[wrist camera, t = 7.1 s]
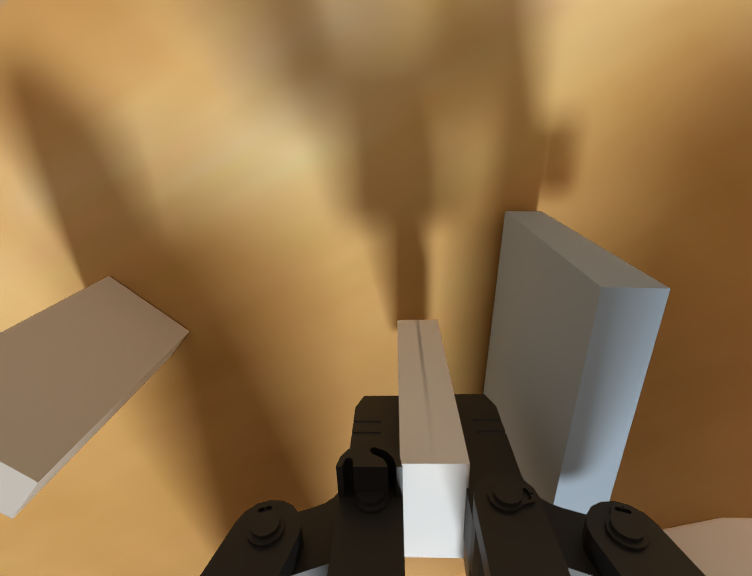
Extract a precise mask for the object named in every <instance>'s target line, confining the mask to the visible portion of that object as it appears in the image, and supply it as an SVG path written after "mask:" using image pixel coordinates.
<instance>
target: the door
mask: <svg viewBox="0 0 752 576" xmlns="http://www.w3.org/2000/svg"><path fill="white" fill-rule="evenodd" d="M670 289H671V288H669V287H667V286H666V285H664V284H662V283H661V282H659V281H657V280H656V279H654V278H652V277H650V276H649V275H647V274H645V273H644V272H642V271H640V270H639V269H637V268H635V267H634V266H632V265H630V264H629V263H627V262H625V261H624V260H622V259H620V258H619V257H617V256H615V255H614V254H612V253H610V252H609V251H607V250H605V249H604V248H602V247H600V246H598V245H597V244H595V243H593V242H592V241H590V240H588V239H587V238H585V237H583V236H582V235H580V234H578V233H577V232H575V231H573V230H572V229H570V228H568V227H567V226H565V225H563V224H562V223H560V222H558V221H557V220H555V219H553V218H552V217H550V216H548V215H546V214H545V213H543V212H541V211H505V217H504V225H503V234H502V242H501V250H500V259H499V267H498V276H497V284H496V292H495V301H494V309H493V317H492V326H491V334H490V343H489V351H488V359H487V368H486V376H485V384H484V393H483V394H485V395H486V396H487V397H488V398H489V399H490V400H491V401H492V402H493V403H494V404H495V405H496V407H497V410H498V412H499V415H500V418H501V422H502V423H503V426H504V429H505V433H506V434H507V437H508V440H509V442H510V445H511V448H512V451H513V453H514V456H515V459H516V462H517V464H518V467H519V470H520V472H521V475H522V477H523V479H524V480H525V481H526V482H527V483H528V484H529V485H531V486H532V487H533V488H534V489H535V491H536V492H537V494H538V495H539V497H540V498H542V499H543V500H545V501H547V502H549V503H550V504H553V505H556V506H559V507H561V508H565V509H569V510H572V511H576V512H579V513H583V514H587V513H588V511H589V509H590V507H591V506H593V505H595V504H597V503H599V502H604V501H610V497H611V494H612V490H613V487H614V483H615V480H616V476H617V473H618V469H619V466H620V462H621V459H622V455H623V452H624V448H625V445H626V441H627V438H628V435H629V431H630V428H631V424H632V421H633V417H634V414H635V410H636V407H637V403H638V400H639V396H640V393H641V389H642V386H643V382H644V379H645V376H646V372H647V369H648V365H649V362H650V358H651V355H652V351H653V348H654V344H655V341H656V337H657V334H658V330H659V327H660V323H661V320H662V317H663V313H664V310H665V306H666V303H667V299H668V296H669V292H670ZM464 564H465V571H466V576H468V570H469V566H468V560H467V555H466V549H465V551H464Z"/></svg>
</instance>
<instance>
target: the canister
mask: <svg viewBox="0 0 752 576" xmlns="http://www.w3.org/2000/svg"><path fill="white" fill-rule="evenodd" d="M662 530H663V531H664V532H665V533H666V534H667V535H668V536H669V537H670V538H671V539H672V540H673V542H674V543H675V544H676V545H677V546H678V547H679V548H680V549H681V550H682V551H683V552H684V553H685V554H686V555H687V556H688V557H689V559H690V560H691V561H692V562H693V563H694V564H695V565H696V566H697V567H698V568H699V569H700V570H701V571H702V572H703V573H704V574H705V576H752V518H726V517H721V518H716V519H711V520H706V521H701V522H696V523H691V524H686V525H681V526H676V527H671V528H666V529H662Z"/></svg>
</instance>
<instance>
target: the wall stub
mask: <svg viewBox="0 0 752 576" xmlns="http://www.w3.org/2000/svg"><path fill="white" fill-rule="evenodd" d="M188 333H189V331H188V330H187V329H185V328H184V327H182V326H181V325H180V324H178V323H177V322H175V321H174V320H172V319H171V318H169V317H168V316H167V315H165V314H164V313H162V312H161V311H159V310H158V309H156V308H155V307H153V306H152V305H151V304H149V303H148V302H146V301H145V300H143V299H142V298H140V297H139V296H138V295H136V294H135V293H133V292H132V291H130V290H129V289H127V288H126V287H124V286H123V285H122V284H120V283H119V282H117V281H116V280H114V279H113V278H111V277H110V276H108V277H106V278H104V279H102V280H100V281H98V282H96V283H94V284H92V285H90V286H89V287H87V288H85V289H83V290H81V291H79V292H77V293H75V294H73V295H71V296H69V297H68V298H66V299H64V300H62V301H60V302H58V303H56V304H54V305H52V306H50V307H49V308H47V309H45V310H43V311H41V312H39V313H37V314H35V315H33V316H31V317H29V318H28V319H26V320H24V321H22V322H20V323H18V324H16V325H14V326H12V327H10V328H9V329H7V330H5V331H3V332H1V333H0V513H2V514H4V515H6V516H8V517H10V518H12V519H13V518H14V517H15V516H16V515H17V514H18V513H19V512H20V511H21V510H22V509H23V508H24V506H25V505H26V504H27V503H28V502H29V501H30V500H31V499H32V498H33V497H34V496H35V495H36V494H37V493H38V492H39V491H40V490H41V489H42V488H43V487H44V486H45V485H46V484H47V483H48V482H49V481H50V480H51V479H52V478H53V477H54V476H55V475H56V474H57V473H58V472H59V471H60V470H61V469H62V467H63V466H64V465H65V464H66V463H67V462H68V461H69V460H70V459H71V458H72V457H73V456H74V455H75V454H76V453H77V452H78V451H79V450H80V449H81V448H82V447H83V446H84V445H85V444H86V443H87V442H88V441H89V440H90V439H91V438H92V437H93V436H94V435H95V434H96V433H97V432H98V431H99V430H100V428H101V427H102V426H103V425H104V424H105V423H106V422H107V421H108V420H109V419H110V418H111V417H112V416H113V415H114V414H115V413H116V412H117V411H118V410H119V409H120V408H121V407H122V406H123V405H124V404H125V403H126V402H127V401H128V400H129V399H130V398H131V397H132V396H133V395H134V394H135V393H136V392H137V391H138V389H139V388H140V387H141V386H142V385H143V384H144V383H145V382H146V381H147V380H148V379H149V378H150V377H151V376H152V375H153V374H154V373H155V372H156V371H157V370H158V369H159V368H160V367H161V366H162V365H163V364H164V363H165V362H166V361H167V360H168V359H169V358H170V356H171V355H172V354H173V353H174V351H175V350H176V349H177V347H178V346H179V345H180V343H181V342H182V341H183V339H184V338H185V337H186V335H187V334H188Z"/></svg>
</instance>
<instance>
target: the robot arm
mask: <svg viewBox="0 0 752 576" xmlns="http://www.w3.org/2000/svg"><path fill="white" fill-rule="evenodd" d="M397 329H398V384H399V396H364V397H363V398H362V400H361V401H360V402H359V404H358V405H357V406H356V408H355V415H354V424H353V430H352V437H351V445H350V449H348V450H347V451H346V452H345V453H344V454H343V455H342V456H341V457H340V458H339V461H338V463H337V465H336V472H337V483H338V494H337V495H336V496H335V497H334V498H332V499H331V500H329V501H328V502H326V503H324V504H322V505H319V506H317V507H314V508H310V509H307V510H303V511H300V512H297V510H296V509H295V508H294V506H293V505H291V504H289V503H286V502H284V501H276V500H270V501H266V502H262V503H259V504H257V505H255V506H253V507H252V508H250V509H248V510H247V511H245V513H244V514H243V515H242V516H241V517H240V518H239V519H238V520H237V521H236V523H235V524H234V526H233V527H232V529H231V530H230V532H229V533H228V535H227V536H226V538H225V539H224V541H223V542H222V544H221V545H220V547H219V548H218V550H217V551H216V553H215V554H214V556H213V557H212V559H211V560H210V562H209V563H208V565H207V566H206V568H205V569H204V571H203V572H202V574H201V575H200V576H405V559H404V557H431V558H464V551H465V549H466V555H467V560H468V566H469V570H468V576H705V574H704V573H703V572H702V571H701V570H700V569H699V568H698V567H697V566H696V565H695V564H694V563H693V562H692V561H691V560H690V559H689V557H688V556H687V555H686V554H685V553H684V552H683V551H682V550H681V549H680V548H679V547H678V546H677V545H676V544H675V543H674V542H673V540H672V539H671V538H670V537H669V536H668V535H667V534H666V533H665V532H664V531H663V530H662V529H661V528H660V527H659V526H658V525H657V524H656V523H655V522H654V521H653V520H652V519H650V518H649V517H648V516H647V515H646V514H644V513H643V512H641V511H639V510H637V509H635V508H633V507H631V506H630V505H627V504H623V503H619V502H615V501H604V502H599V503H597V504H595V505H593V506H591V507H590V509H589V511H588V513H587V514H583V513H579V512H576V511H572V510H569V509H565V508H561V507H559V506H556V505H553V504H550V503H549V502H547V501H545V500H543V499H542V498H540V497H539V495H538V494H537V492H536V491H535V489H534V488H533V487H532V486H531V485H529V484H528V483H527V482H526V481H525V480H524V479H523V477H522V475H521V472H520V470H519V467H518V464H517V462H516V459H515V456H514V453H513V451H512V448H511V445H510V442H509V440H508V437H507V434H506V433H505V429H504V426H503V423H502V422H501V418H500V415H499V412H498V410H497V407H496V405H495V404H494V403H493V402H492V401H491V400H490V399H489V398H488V397H487V396H486V395H485V394H454V391H453V387H452V382H451V378H450V374H449V369H448V365H447V360H446V356H445V352H444V347H443V343H442V338H441V334H440V329H439V325H438V321H437V320H397Z"/></svg>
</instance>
